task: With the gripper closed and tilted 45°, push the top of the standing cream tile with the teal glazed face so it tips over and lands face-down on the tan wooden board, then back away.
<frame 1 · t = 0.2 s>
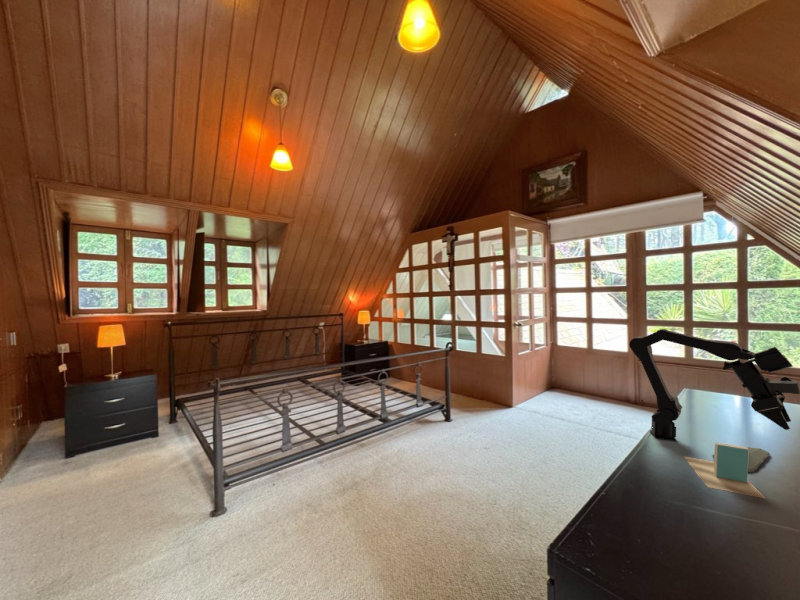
hand: (788, 425, 100), 15 cm above the dresser top, tool tilted 30°, fingers open, 9 cm apart
stone slab: (742, 458, 108), on the dresser top, touching tan wooden board
glazed tile: (730, 478, 96), resting on tan wooden board
tan wooden board: (730, 479, 96), on the dresser top
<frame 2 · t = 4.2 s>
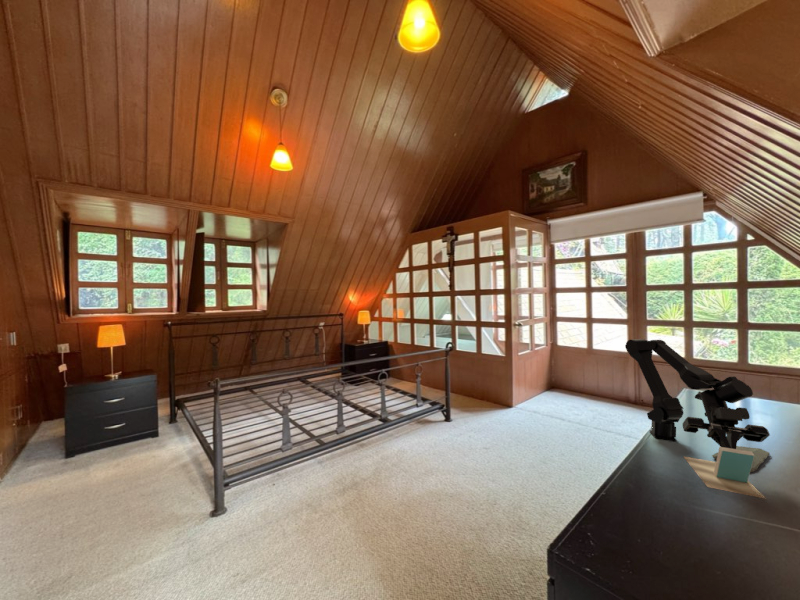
hand: (732, 457, 95), 7 cm above the dresser top, tool tilted 45°, fingers closed
glazed tile: (730, 477, 96), point 1 cm above the dresser top, tilted 17°, touching tan wooden board
everything else where it was.
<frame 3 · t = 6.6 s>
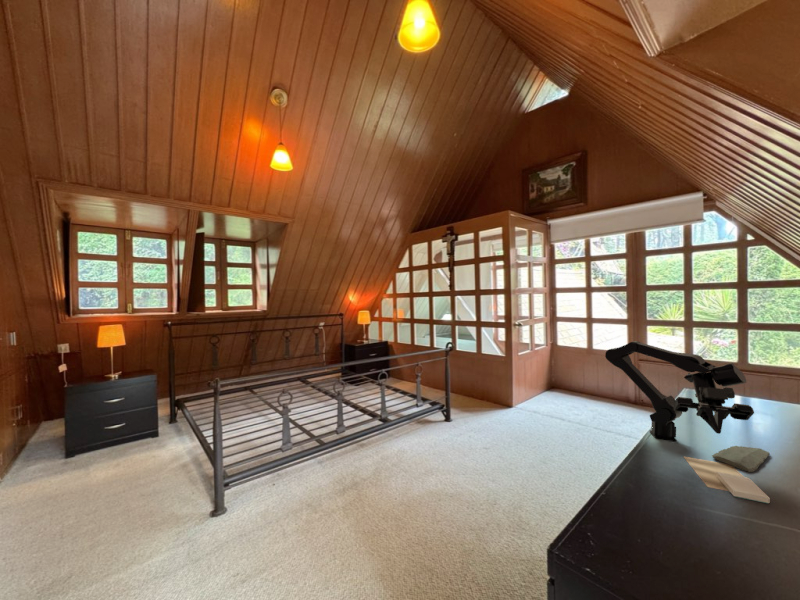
hand: (718, 433, 102), 11 cm above the dresser top, tool tilted 45°, fingers closed
glazed tile: (731, 476, 95), point 1 cm above the dresser top, tilted 90°, touching tan wooden board
everything else where it was.
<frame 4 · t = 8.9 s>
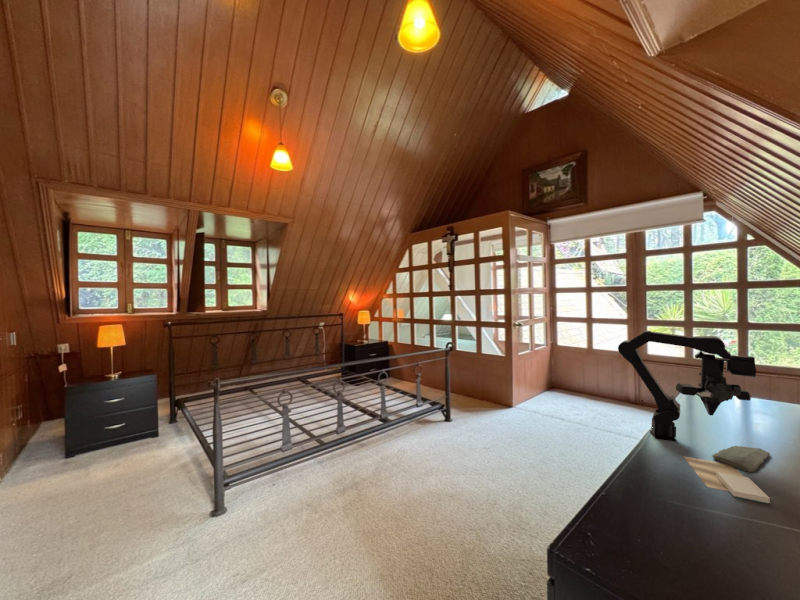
hand: (710, 415, 114), 12 cm above the dresser top, tool pointing down, fingers closed
nothing on the dresser top moved.
at the end: glazed tile tilted 90°; glazed tile inside the target area on the tan wooden board (1.9 cm from its centre), point 1.4 cm above the tan wooden board's base; glazed tile touching tan wooden board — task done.
